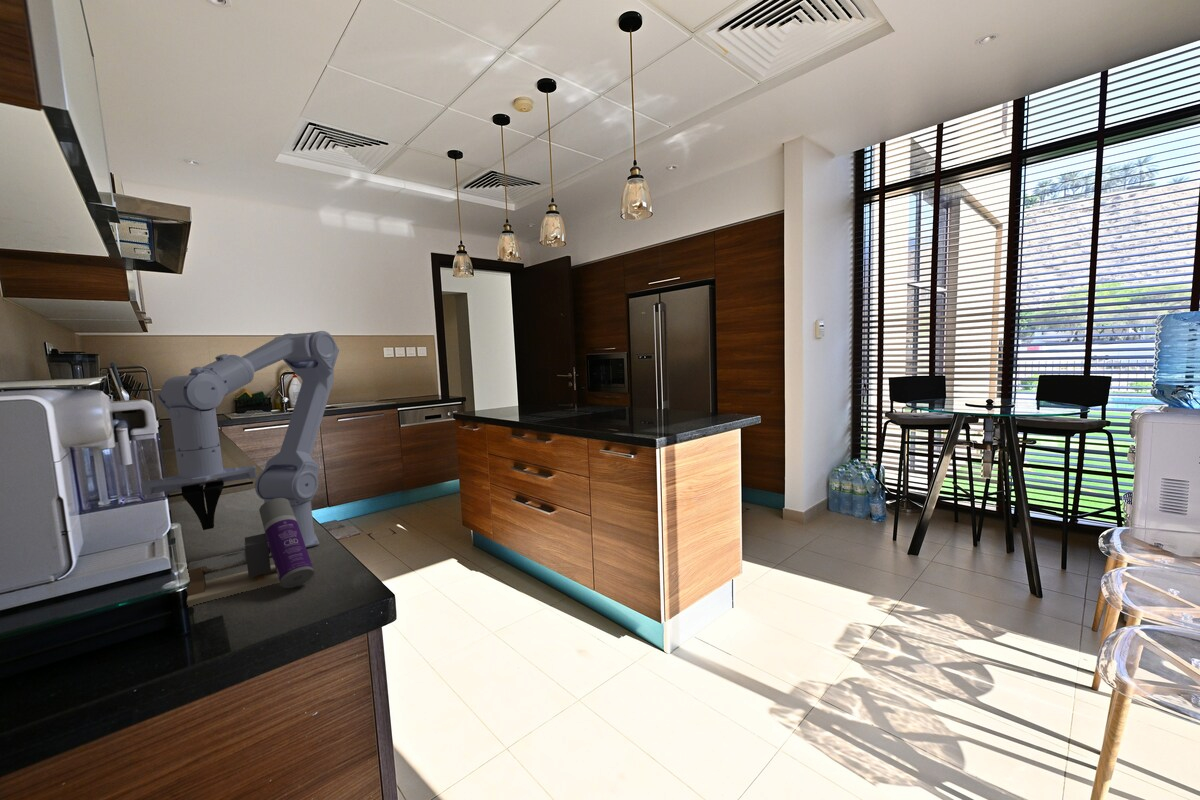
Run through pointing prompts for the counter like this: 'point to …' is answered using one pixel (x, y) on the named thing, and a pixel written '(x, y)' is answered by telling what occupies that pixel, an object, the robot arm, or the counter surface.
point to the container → (286, 543)
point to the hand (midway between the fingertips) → (208, 527)
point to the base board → (225, 584)
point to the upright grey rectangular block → (257, 555)
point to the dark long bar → (222, 562)
